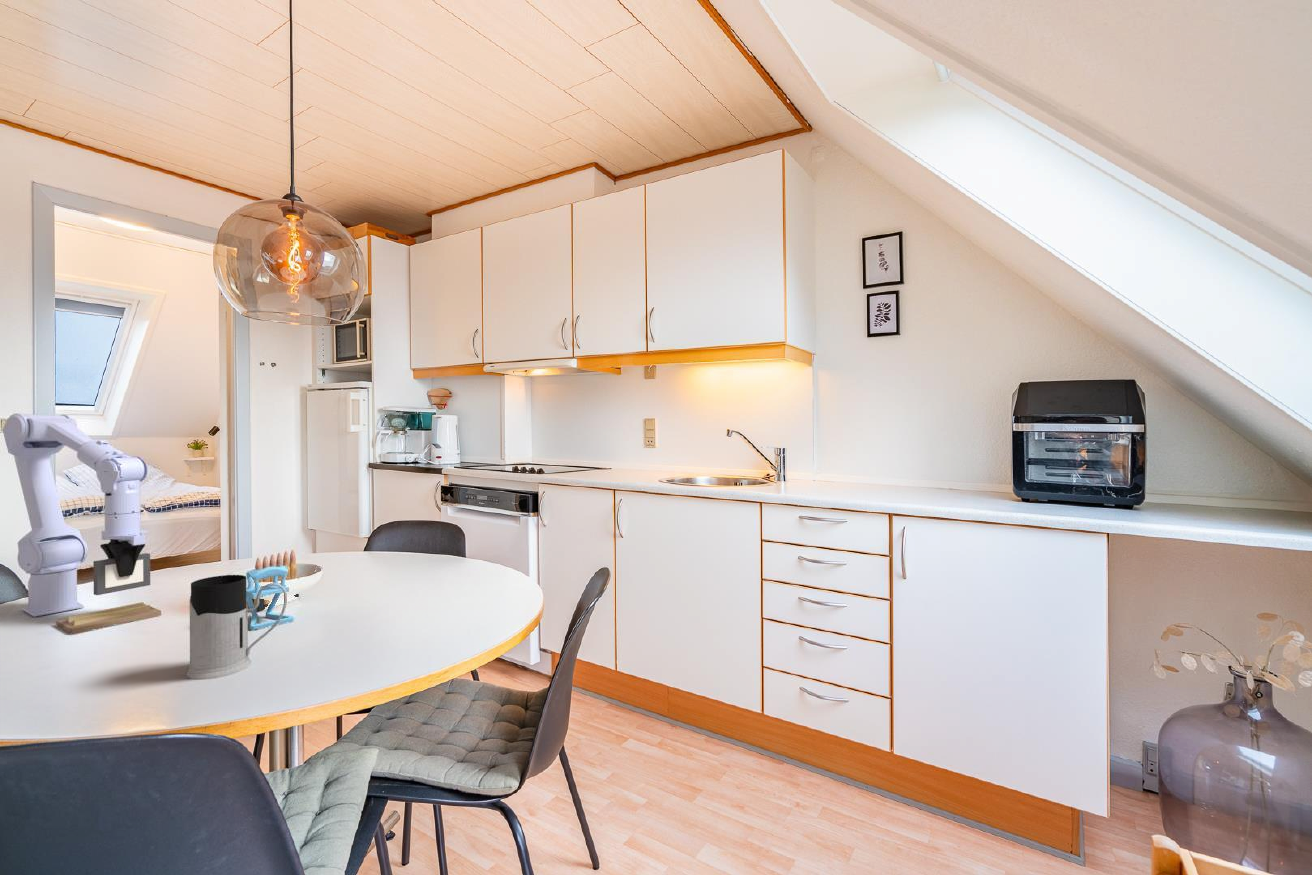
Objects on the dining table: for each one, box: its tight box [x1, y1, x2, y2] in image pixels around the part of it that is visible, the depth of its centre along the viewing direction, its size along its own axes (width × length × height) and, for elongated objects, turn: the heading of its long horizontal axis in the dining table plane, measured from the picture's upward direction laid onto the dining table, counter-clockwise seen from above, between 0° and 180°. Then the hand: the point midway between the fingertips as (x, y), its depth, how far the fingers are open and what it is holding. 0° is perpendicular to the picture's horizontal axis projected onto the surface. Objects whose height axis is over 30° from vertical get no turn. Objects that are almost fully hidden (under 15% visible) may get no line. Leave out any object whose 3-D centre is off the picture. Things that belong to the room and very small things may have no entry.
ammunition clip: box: [252, 549, 300, 613], centre depth 133 cm, size 11×2×12 cm, turn 165°
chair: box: [245, 564, 295, 631], centre depth 121 cm, size 8×8×12 cm
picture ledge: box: [55, 601, 162, 635], centre depth 122 cm, size 10×14×2 cm
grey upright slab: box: [93, 552, 151, 596], centre depth 124 cm, size 2×9×7 cm, turn 153°
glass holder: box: [186, 574, 288, 680], centre depth 98 cm, size 9×14×15 cm, turn 111°
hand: (123, 575), depth 124 cm, fingers closed on grey upright slab, 2 cm apart
